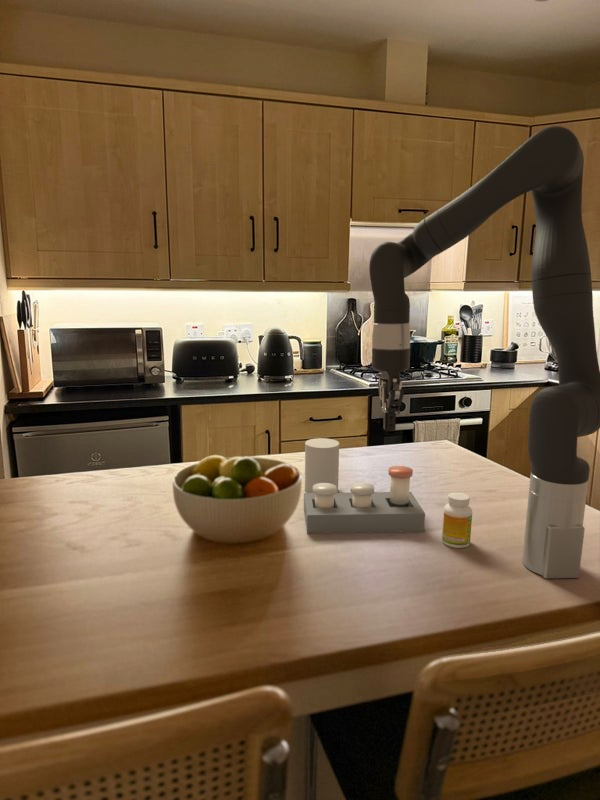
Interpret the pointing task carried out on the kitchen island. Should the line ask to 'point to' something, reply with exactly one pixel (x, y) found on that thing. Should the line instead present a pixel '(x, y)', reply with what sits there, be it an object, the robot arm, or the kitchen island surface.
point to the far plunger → (324, 495)
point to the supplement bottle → (457, 521)
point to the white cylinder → (321, 462)
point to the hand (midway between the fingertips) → (389, 430)
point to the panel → (363, 515)
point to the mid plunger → (362, 494)
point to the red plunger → (400, 484)
